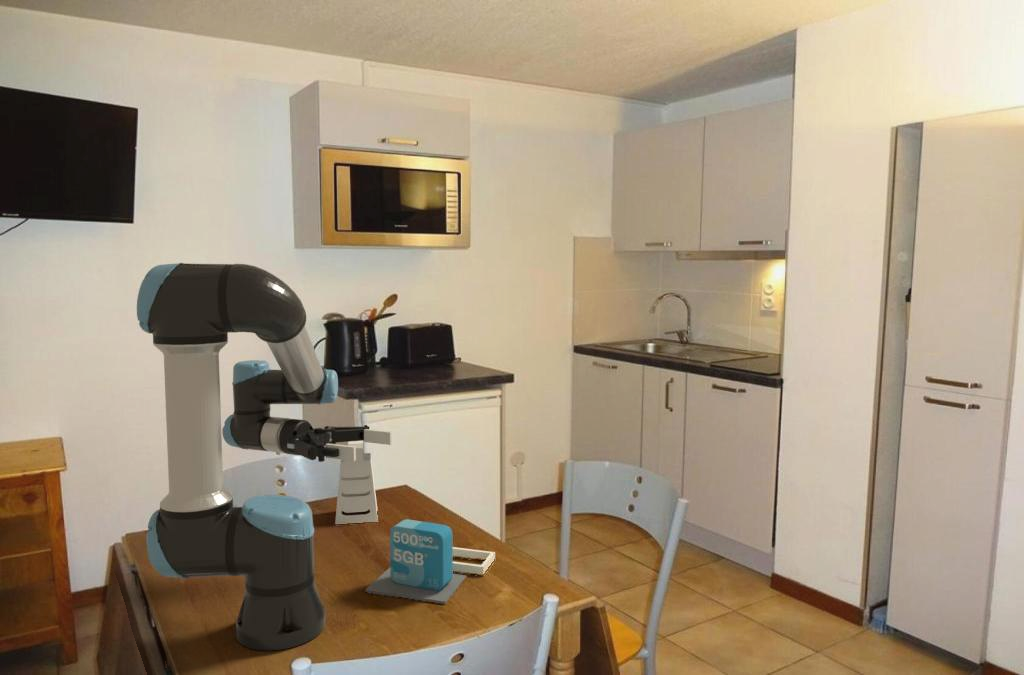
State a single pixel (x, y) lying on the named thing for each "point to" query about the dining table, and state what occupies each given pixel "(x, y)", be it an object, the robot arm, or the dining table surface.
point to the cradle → (472, 554)
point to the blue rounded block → (421, 554)
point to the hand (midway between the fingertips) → (373, 445)
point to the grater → (356, 488)
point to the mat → (414, 589)
